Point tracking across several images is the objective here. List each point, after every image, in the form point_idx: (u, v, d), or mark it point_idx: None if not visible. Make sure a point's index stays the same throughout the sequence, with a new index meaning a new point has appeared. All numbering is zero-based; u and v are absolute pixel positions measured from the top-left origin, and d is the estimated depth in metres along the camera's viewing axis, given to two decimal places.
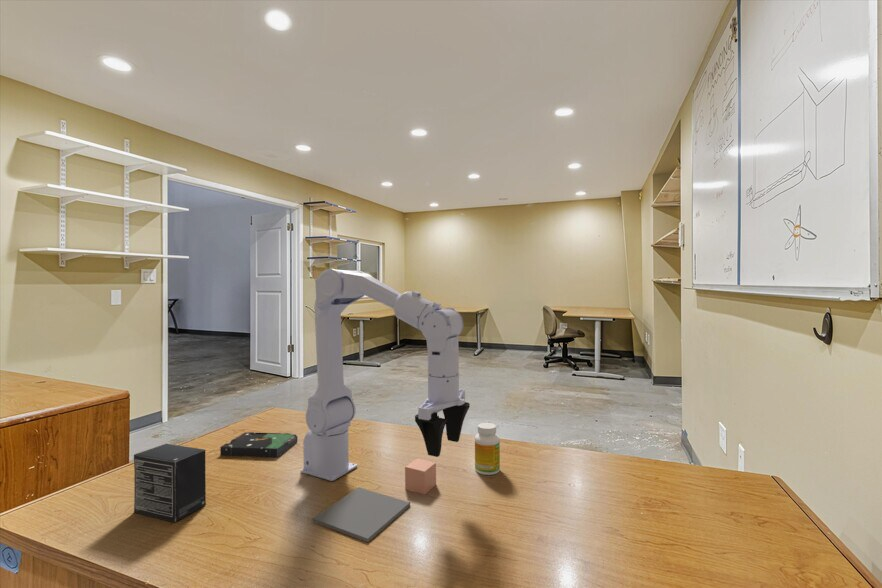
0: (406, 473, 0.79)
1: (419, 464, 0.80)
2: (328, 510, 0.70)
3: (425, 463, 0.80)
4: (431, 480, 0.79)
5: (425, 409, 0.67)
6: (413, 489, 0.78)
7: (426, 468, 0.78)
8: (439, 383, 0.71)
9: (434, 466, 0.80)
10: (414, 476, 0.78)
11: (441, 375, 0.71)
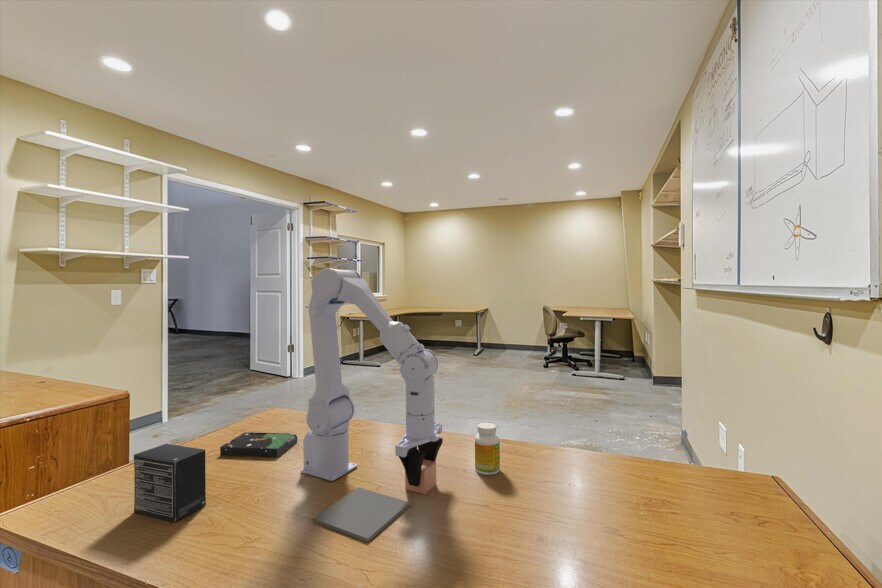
0: None
1: None
2: (328, 510, 0.70)
3: (425, 463, 0.80)
4: (431, 479, 0.79)
5: (401, 447, 0.73)
6: (413, 488, 0.78)
7: (426, 467, 0.78)
8: (415, 421, 0.77)
9: (434, 465, 0.80)
10: None
11: (419, 414, 0.77)
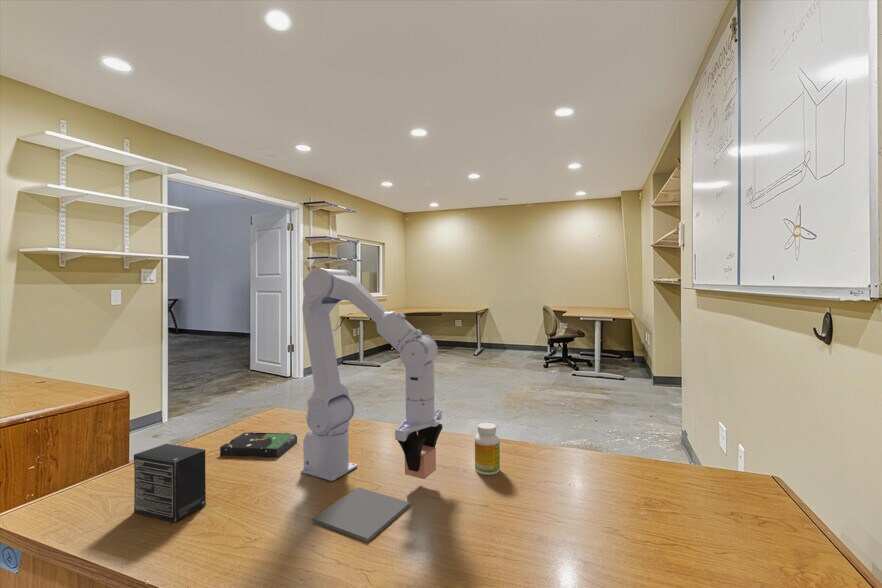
0: None
1: None
2: (328, 510, 0.70)
3: (425, 448, 0.80)
4: (431, 465, 0.79)
5: (401, 431, 0.73)
6: (413, 474, 0.78)
7: (426, 452, 0.78)
8: (415, 406, 0.77)
9: (434, 451, 0.80)
10: None
11: (419, 399, 0.77)
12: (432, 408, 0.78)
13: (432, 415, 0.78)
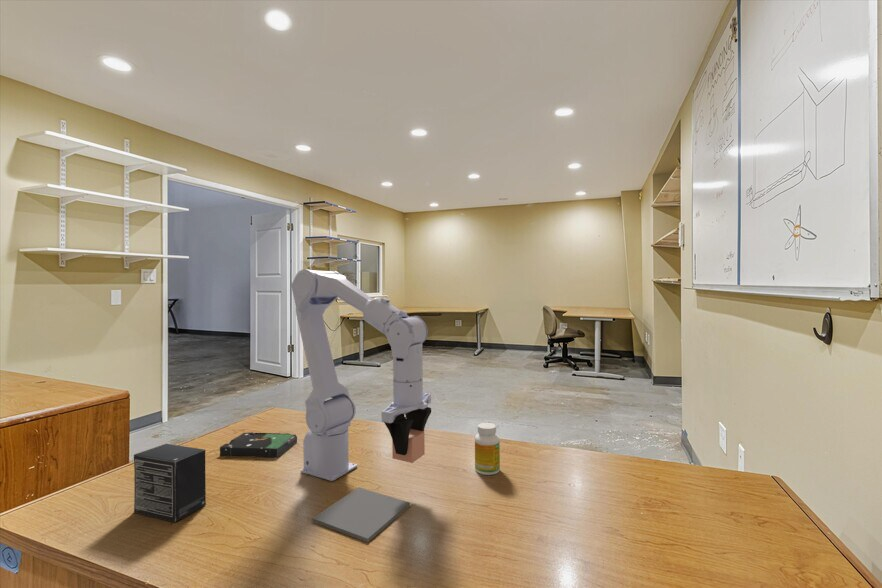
0: None
1: None
2: (328, 510, 0.70)
3: (413, 432, 0.78)
4: (419, 449, 0.77)
5: (388, 413, 0.71)
6: (400, 458, 0.76)
7: (414, 436, 0.76)
8: (403, 388, 0.75)
9: (422, 435, 0.78)
10: None
11: (404, 380, 0.74)
12: (420, 390, 0.76)
13: (420, 397, 0.76)
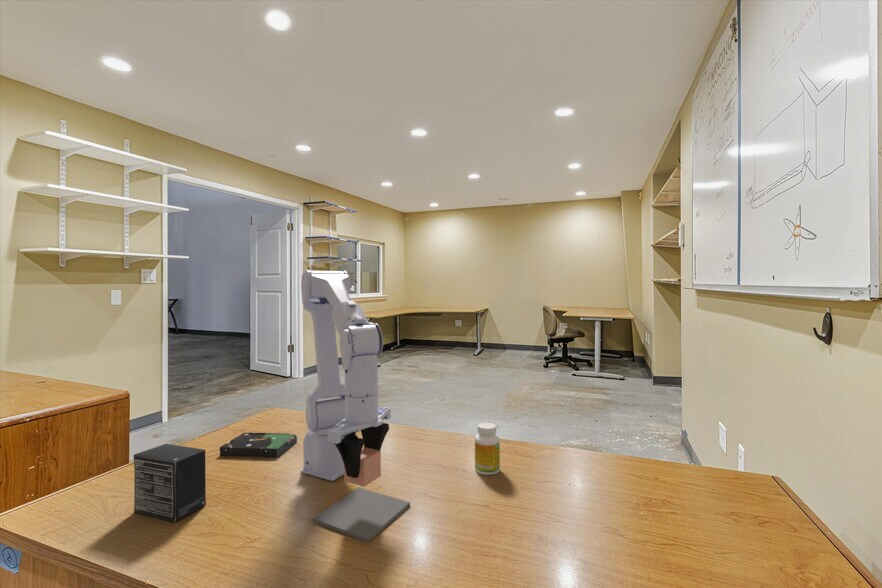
0: None
1: None
2: (328, 510, 0.70)
3: (368, 451, 0.70)
4: (374, 470, 0.69)
5: (334, 432, 0.63)
6: (352, 480, 0.68)
7: (367, 456, 0.68)
8: (354, 403, 0.67)
9: (378, 455, 0.70)
10: None
11: (348, 394, 0.68)
12: (374, 406, 0.69)
13: (374, 414, 0.69)
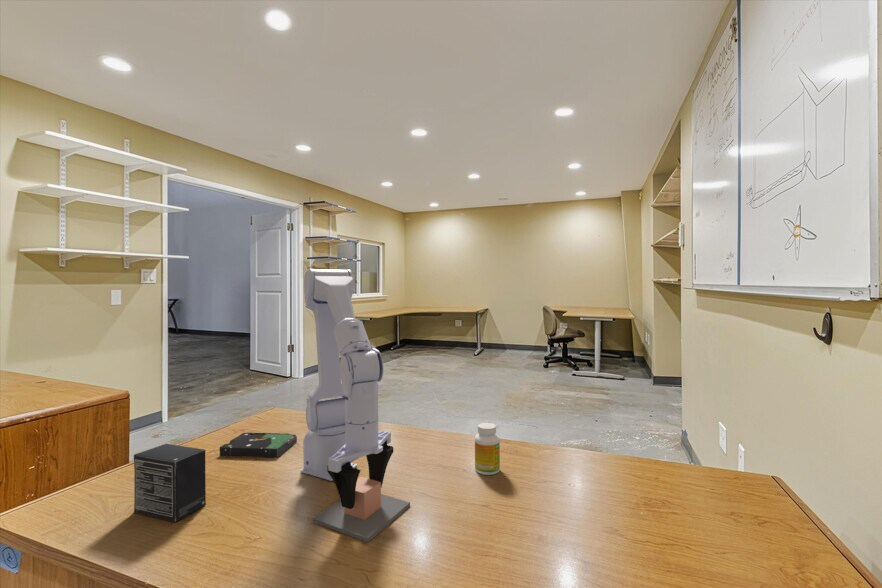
0: None
1: (361, 484, 0.70)
2: (328, 510, 0.70)
3: (368, 483, 0.71)
4: (374, 502, 0.69)
5: (334, 461, 0.63)
6: (352, 513, 0.68)
7: (368, 489, 0.68)
8: (354, 430, 0.67)
9: (378, 486, 0.70)
10: None
11: (349, 421, 0.68)
12: (375, 432, 0.69)
13: (375, 440, 0.69)
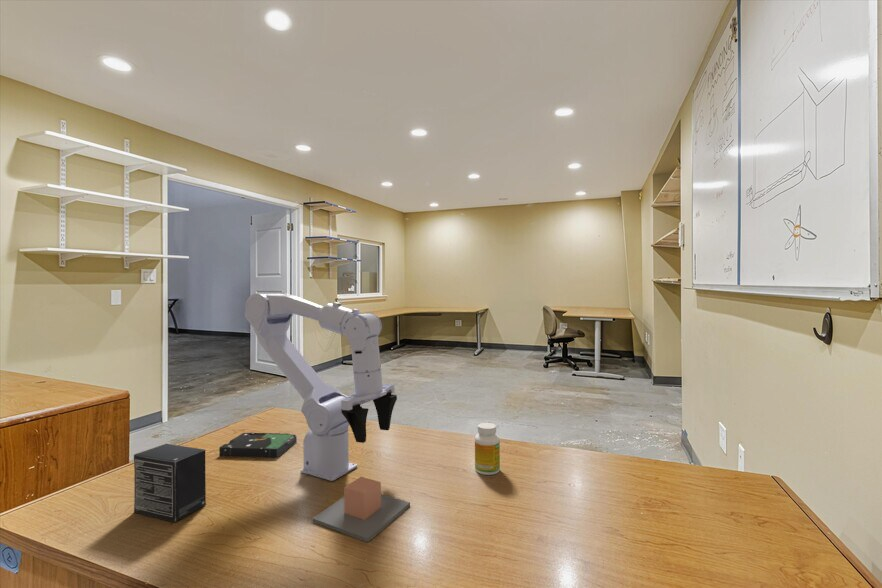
0: (345, 494, 0.69)
1: (361, 484, 0.70)
2: (328, 510, 0.70)
3: (368, 483, 0.71)
4: (374, 502, 0.69)
5: (346, 401, 0.77)
6: (352, 513, 0.68)
7: (368, 489, 0.68)
8: (361, 378, 0.81)
9: (378, 486, 0.70)
10: (353, 498, 0.68)
11: (364, 370, 0.81)
12: (378, 379, 0.82)
13: (379, 386, 0.82)
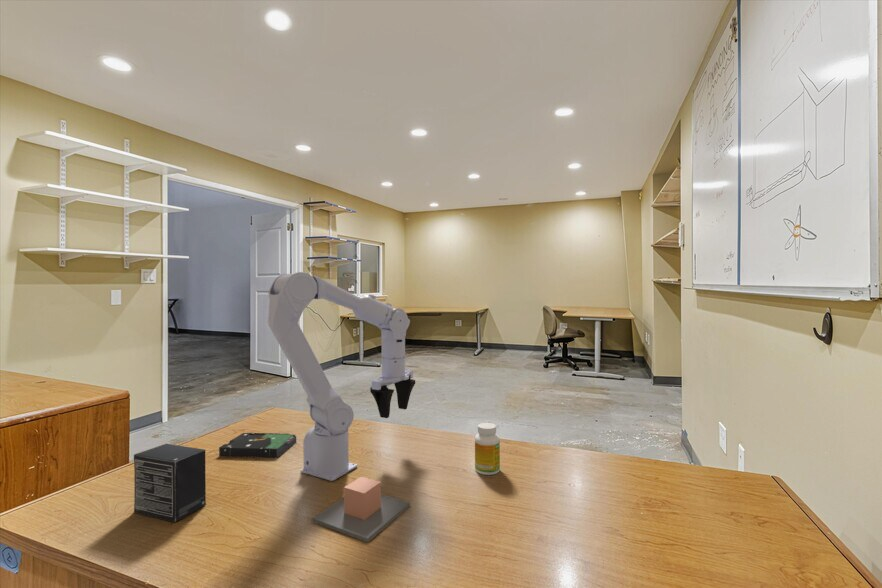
0: (345, 494, 0.69)
1: (361, 484, 0.70)
2: (328, 510, 0.70)
3: (368, 483, 0.71)
4: (374, 502, 0.69)
5: (376, 382, 0.91)
6: (352, 513, 0.68)
7: (368, 489, 0.68)
8: (389, 363, 0.94)
9: (378, 486, 0.70)
10: (353, 498, 0.68)
11: (403, 356, 0.96)
12: (403, 366, 0.96)
13: (403, 371, 0.96)
